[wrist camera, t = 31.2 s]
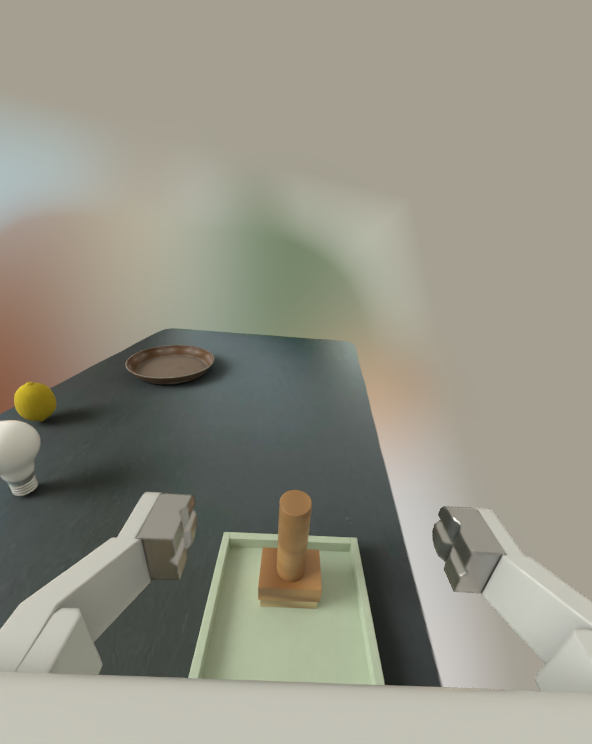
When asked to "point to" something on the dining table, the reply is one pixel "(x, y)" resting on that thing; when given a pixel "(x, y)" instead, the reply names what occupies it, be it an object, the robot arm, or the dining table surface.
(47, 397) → the lemon
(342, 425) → the dining table surface
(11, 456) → the lightbulb
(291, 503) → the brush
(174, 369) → the plant saucer
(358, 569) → the tray
